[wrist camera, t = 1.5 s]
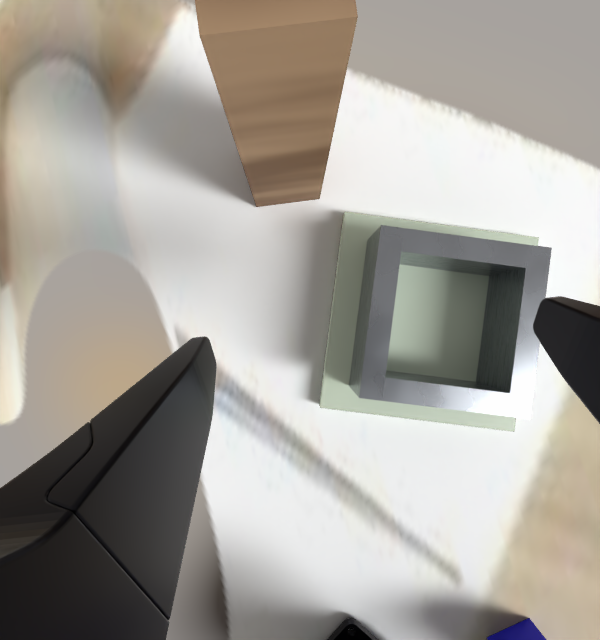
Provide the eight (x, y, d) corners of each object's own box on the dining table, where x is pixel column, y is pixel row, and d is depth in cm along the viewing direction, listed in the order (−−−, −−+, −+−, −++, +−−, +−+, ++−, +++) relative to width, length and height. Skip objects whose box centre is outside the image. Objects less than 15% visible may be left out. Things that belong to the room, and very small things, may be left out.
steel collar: (492, 403, 20) (530, 419, 17) (348, 385, 20) (359, 397, 17) (510, 259, 20) (551, 248, 17) (367, 240, 20) (381, 224, 17)
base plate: (505, 427, 21) (514, 431, 20) (319, 404, 21) (320, 407, 20) (529, 240, 21) (538, 237, 20) (343, 215, 21) (345, 211, 20)
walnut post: (319, 198, 21) (357, 17, 8) (256, 206, 21) (199, 35, 8) (310, 135, 21) (336, -141, 8) (247, 143, 21) (178, -124, 8)
